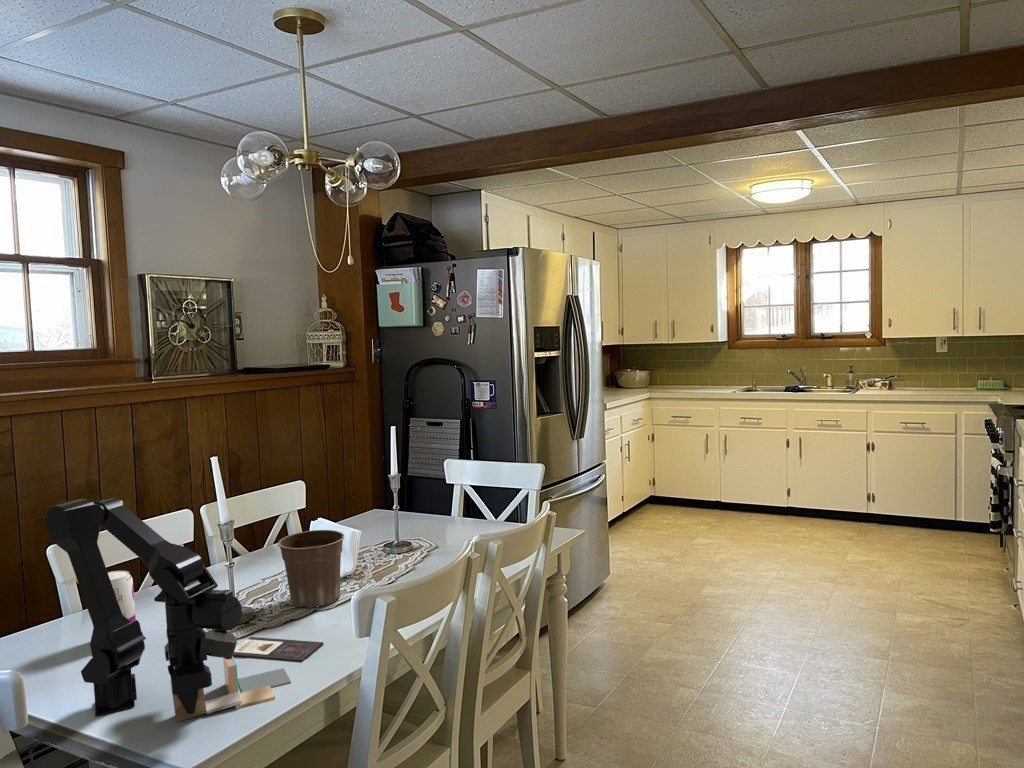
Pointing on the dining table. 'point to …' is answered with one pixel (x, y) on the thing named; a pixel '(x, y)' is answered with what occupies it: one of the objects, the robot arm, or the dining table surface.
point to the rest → (255, 696)
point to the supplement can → (124, 592)
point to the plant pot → (313, 566)
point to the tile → (231, 675)
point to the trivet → (264, 680)
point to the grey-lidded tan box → (205, 705)
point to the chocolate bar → (276, 649)
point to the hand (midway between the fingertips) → (190, 709)
